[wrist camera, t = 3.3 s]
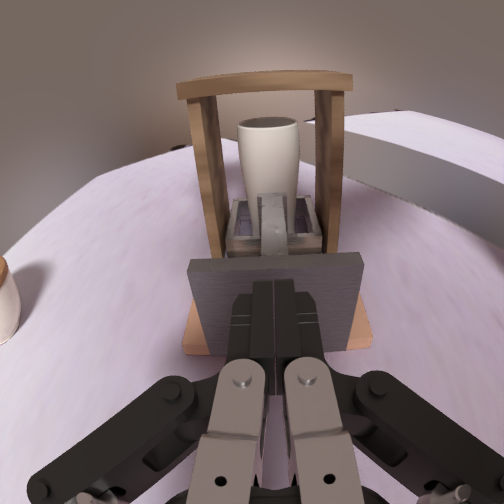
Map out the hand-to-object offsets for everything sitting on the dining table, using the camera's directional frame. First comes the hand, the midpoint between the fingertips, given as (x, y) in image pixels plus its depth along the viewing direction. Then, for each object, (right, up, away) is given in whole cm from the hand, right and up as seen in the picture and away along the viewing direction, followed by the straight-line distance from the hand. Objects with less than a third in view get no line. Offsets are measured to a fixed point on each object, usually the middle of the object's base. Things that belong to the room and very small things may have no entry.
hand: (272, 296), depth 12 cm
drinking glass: (+2, +3, +28) cm, 28 cm away
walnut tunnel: (+2, +4, +28) cm, 28 cm away
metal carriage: (+2, 0, +22) cm, 22 cm away
